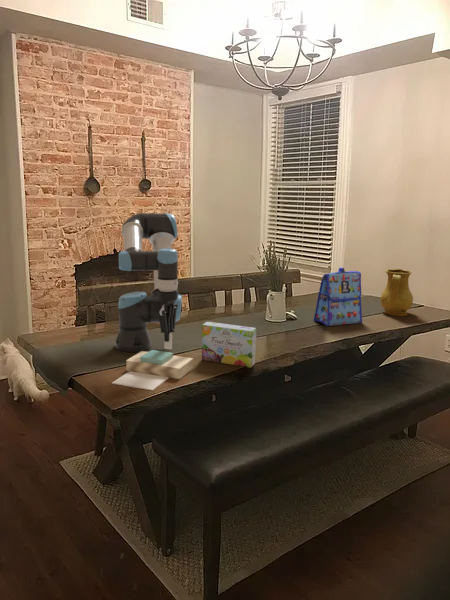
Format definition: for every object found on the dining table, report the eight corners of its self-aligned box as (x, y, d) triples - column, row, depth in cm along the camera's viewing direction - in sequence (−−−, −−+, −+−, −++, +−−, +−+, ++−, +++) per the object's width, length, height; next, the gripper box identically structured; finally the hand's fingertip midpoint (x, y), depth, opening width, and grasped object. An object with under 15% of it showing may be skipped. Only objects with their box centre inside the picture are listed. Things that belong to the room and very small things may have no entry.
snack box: (200, 360, 202) (201, 324, 199) (206, 356, 207) (206, 320, 204) (251, 368, 195) (252, 330, 191) (255, 363, 200) (257, 326, 197)
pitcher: (419, 314, 282) (421, 269, 276) (397, 320, 272) (399, 274, 266) (393, 308, 296) (394, 266, 290) (372, 314, 286) (373, 270, 280)
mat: (111, 383, 177) (111, 382, 177) (129, 372, 188) (129, 371, 188) (152, 390, 172) (152, 389, 172) (168, 378, 183) (168, 377, 183)
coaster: (140, 361, 188) (140, 356, 187) (151, 354, 196) (151, 349, 196) (162, 364, 185) (162, 360, 184) (173, 357, 193) (173, 352, 193)
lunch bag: (328, 327, 253) (331, 270, 247) (312, 320, 266) (316, 266, 259) (362, 323, 262) (367, 268, 256) (346, 316, 274) (350, 264, 268)
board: (126, 370, 190) (126, 360, 189) (142, 360, 201) (141, 350, 200) (179, 379, 182) (179, 368, 181) (193, 368, 193) (193, 358, 192)
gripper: (169, 293, 186) (169, 354, 191) (183, 287, 198) (183, 345, 203) (151, 291, 189) (151, 352, 194) (166, 285, 201) (166, 342, 206)
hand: (168, 348), depth 199 cm, fingers closed
